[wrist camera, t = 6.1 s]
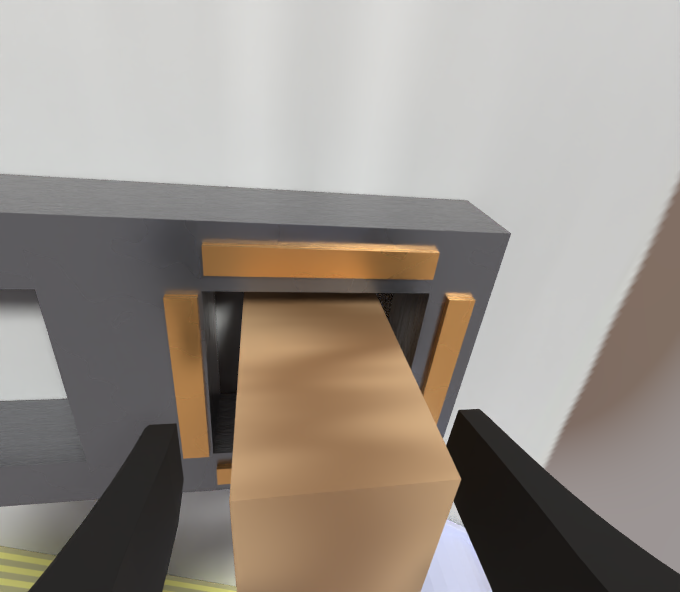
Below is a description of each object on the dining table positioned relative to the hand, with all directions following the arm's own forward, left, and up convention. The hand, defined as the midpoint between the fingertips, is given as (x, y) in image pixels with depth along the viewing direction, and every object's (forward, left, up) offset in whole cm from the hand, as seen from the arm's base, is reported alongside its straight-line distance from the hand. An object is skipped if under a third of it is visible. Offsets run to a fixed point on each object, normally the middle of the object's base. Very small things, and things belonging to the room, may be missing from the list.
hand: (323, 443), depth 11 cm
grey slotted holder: (+4, +3, -5) cm, 7 cm away
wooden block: (0, 0, -5) cm, 5 cm away
